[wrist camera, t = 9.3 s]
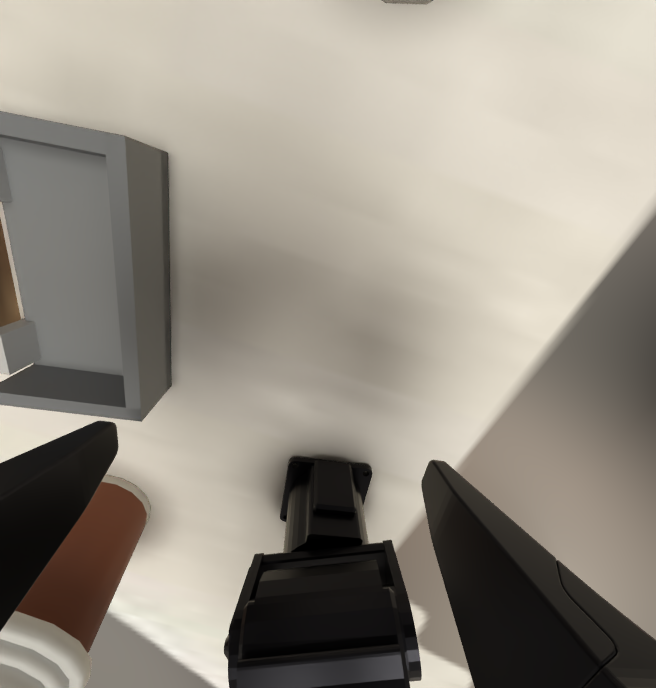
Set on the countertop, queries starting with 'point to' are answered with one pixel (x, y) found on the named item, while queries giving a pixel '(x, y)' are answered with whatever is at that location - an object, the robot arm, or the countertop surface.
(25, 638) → the coffee cup
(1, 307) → the door
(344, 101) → the countertop surface
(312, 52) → the countertop surface
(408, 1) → the cup
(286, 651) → the robot arm
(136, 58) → the countertop surface
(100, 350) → the carcass
